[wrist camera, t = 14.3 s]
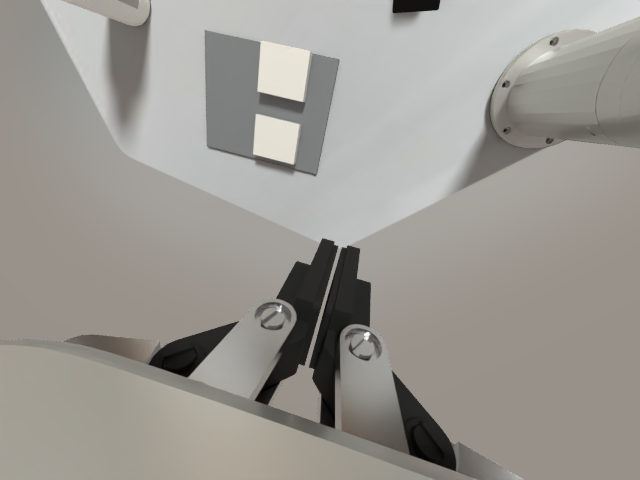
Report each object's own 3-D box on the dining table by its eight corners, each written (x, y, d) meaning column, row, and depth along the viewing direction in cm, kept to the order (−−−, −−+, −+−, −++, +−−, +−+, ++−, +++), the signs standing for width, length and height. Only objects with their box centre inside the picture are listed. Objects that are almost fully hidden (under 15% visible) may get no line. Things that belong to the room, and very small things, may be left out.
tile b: (299, 124, 37) (255, 113, 37) (293, 164, 39) (253, 154, 40) (302, 124, 38) (260, 114, 39) (296, 163, 41) (257, 152, 41)
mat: (339, 60, 34) (338, 59, 33) (316, 173, 41) (316, 174, 41) (206, 31, 35) (204, 30, 35) (208, 145, 43) (206, 145, 43)
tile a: (310, 51, 32) (260, 40, 33) (302, 102, 35) (257, 91, 36) (313, 53, 34) (265, 43, 34) (305, 102, 37) (261, 92, 37)
